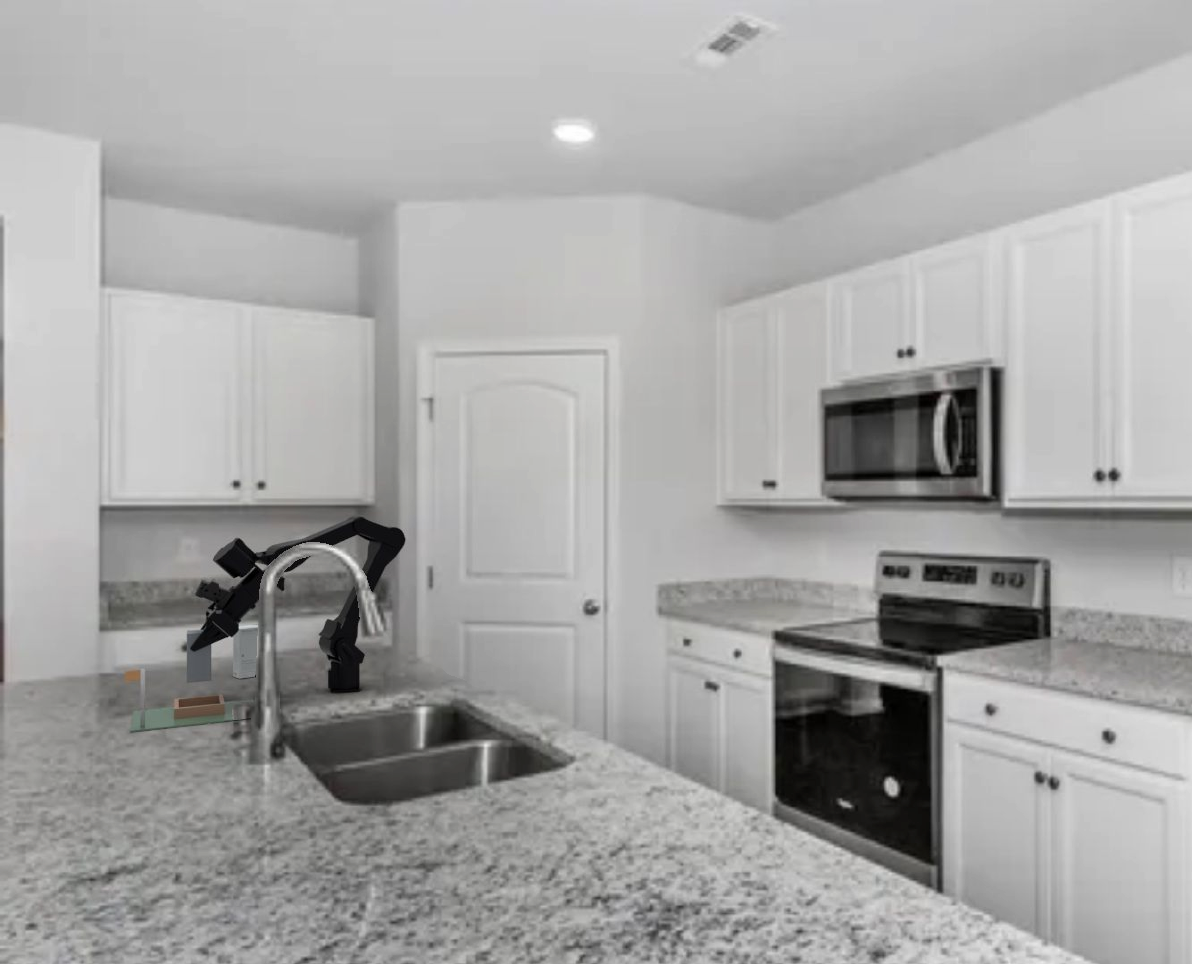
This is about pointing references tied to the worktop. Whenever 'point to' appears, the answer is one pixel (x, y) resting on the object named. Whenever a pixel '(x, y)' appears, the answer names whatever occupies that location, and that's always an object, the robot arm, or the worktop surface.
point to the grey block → (198, 660)
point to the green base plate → (179, 709)
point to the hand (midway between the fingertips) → (191, 648)
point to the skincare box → (245, 651)
